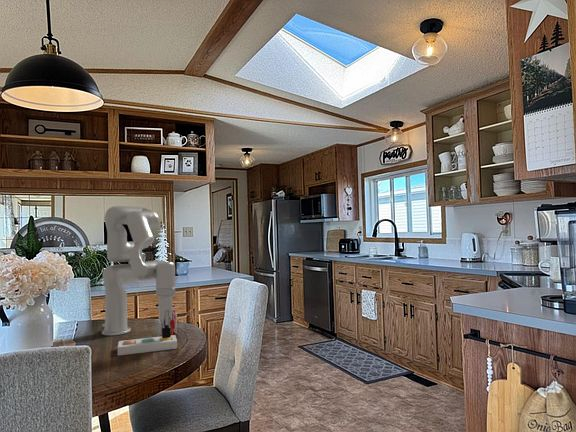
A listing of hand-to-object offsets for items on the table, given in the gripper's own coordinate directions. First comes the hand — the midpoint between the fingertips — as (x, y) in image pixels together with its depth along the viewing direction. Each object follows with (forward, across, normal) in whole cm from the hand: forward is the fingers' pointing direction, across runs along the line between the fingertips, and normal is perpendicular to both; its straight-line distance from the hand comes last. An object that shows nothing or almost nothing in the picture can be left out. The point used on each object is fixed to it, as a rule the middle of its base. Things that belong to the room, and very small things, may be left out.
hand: (166, 337), depth 164 cm
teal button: (+3, 0, -7) cm, 8 cm away
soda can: (+4, -17, +2) cm, 18 cm away
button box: (+4, 0, -7) cm, 8 cm away
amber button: (+3, 0, 0) cm, 3 cm away
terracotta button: (+3, 0, -14) cm, 15 cm away
